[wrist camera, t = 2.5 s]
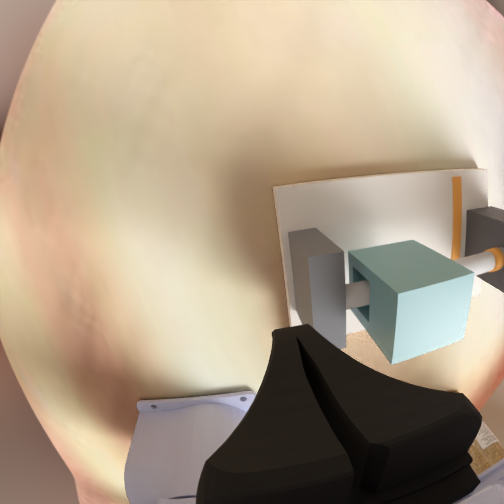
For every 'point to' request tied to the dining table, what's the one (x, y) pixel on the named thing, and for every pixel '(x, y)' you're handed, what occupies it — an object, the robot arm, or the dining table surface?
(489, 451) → the sprinkles bottle
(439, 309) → the sleeve
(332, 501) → the robot arm
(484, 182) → the sliding block rail
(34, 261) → the dining table surface
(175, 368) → the dining table surface
